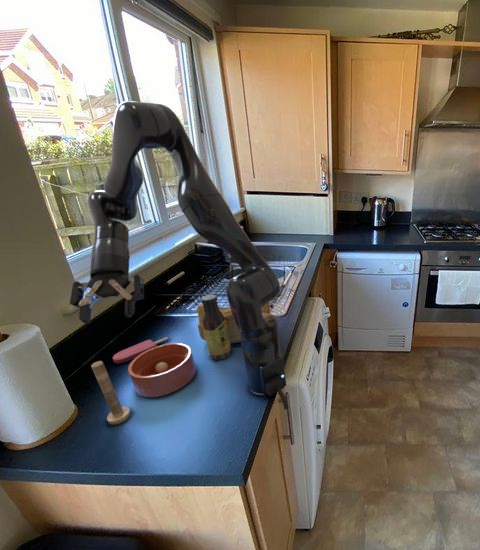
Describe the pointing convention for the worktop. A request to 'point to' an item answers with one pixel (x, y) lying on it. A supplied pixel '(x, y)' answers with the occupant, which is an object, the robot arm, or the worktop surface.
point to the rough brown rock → (231, 326)
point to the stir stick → (110, 395)
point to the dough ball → (161, 367)
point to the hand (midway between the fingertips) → (107, 319)
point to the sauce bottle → (215, 329)
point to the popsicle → (135, 351)
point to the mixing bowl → (168, 381)
